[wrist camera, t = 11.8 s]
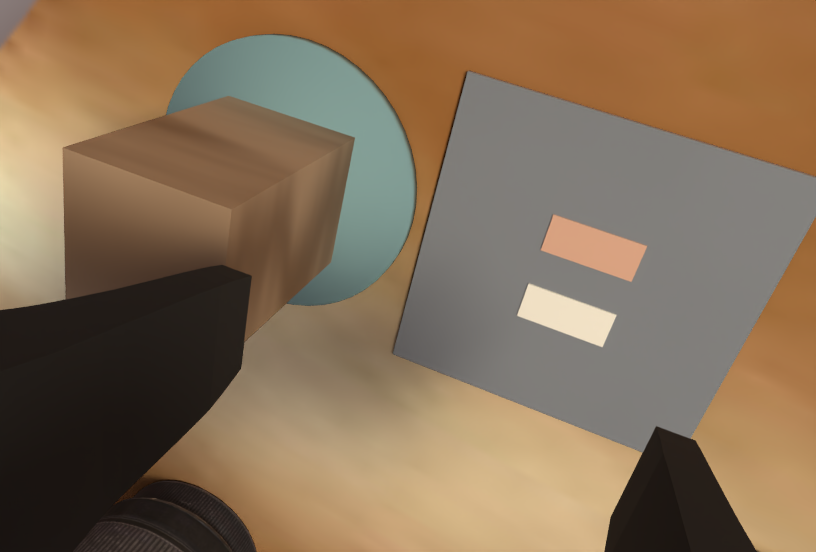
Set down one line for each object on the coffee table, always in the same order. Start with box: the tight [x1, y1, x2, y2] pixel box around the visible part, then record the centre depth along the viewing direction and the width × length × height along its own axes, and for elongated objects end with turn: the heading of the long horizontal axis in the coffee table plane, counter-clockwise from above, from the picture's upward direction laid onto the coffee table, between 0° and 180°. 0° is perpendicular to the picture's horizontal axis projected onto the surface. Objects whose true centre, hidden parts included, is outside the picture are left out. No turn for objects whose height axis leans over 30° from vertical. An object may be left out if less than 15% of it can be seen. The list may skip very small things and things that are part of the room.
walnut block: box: [63, 96, 355, 342], centre depth 19 cm, size 4×4×7 cm
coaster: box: [166, 34, 417, 306], centre depth 23 cm, size 9×9×1 cm
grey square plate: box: [393, 71, 816, 452], centre depth 21 cm, size 10×10×1 cm
